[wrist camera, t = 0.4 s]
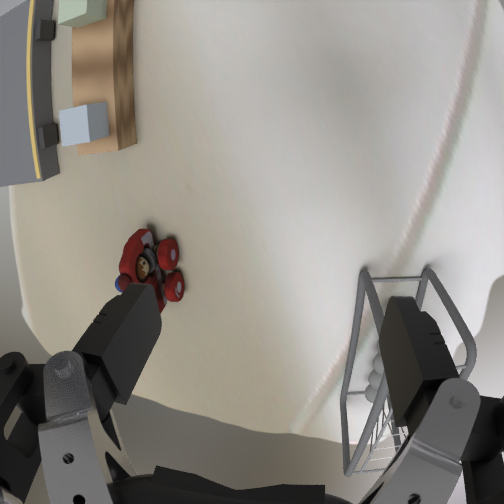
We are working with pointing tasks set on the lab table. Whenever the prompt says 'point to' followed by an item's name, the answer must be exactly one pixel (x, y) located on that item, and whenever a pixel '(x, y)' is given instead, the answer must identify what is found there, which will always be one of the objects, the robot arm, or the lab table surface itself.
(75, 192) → the lab table surface
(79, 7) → the block
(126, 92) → the tan wooden bar
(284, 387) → the lab table surface
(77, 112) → the block
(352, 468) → the newton's cradle
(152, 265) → the toy fire truck
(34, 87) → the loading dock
